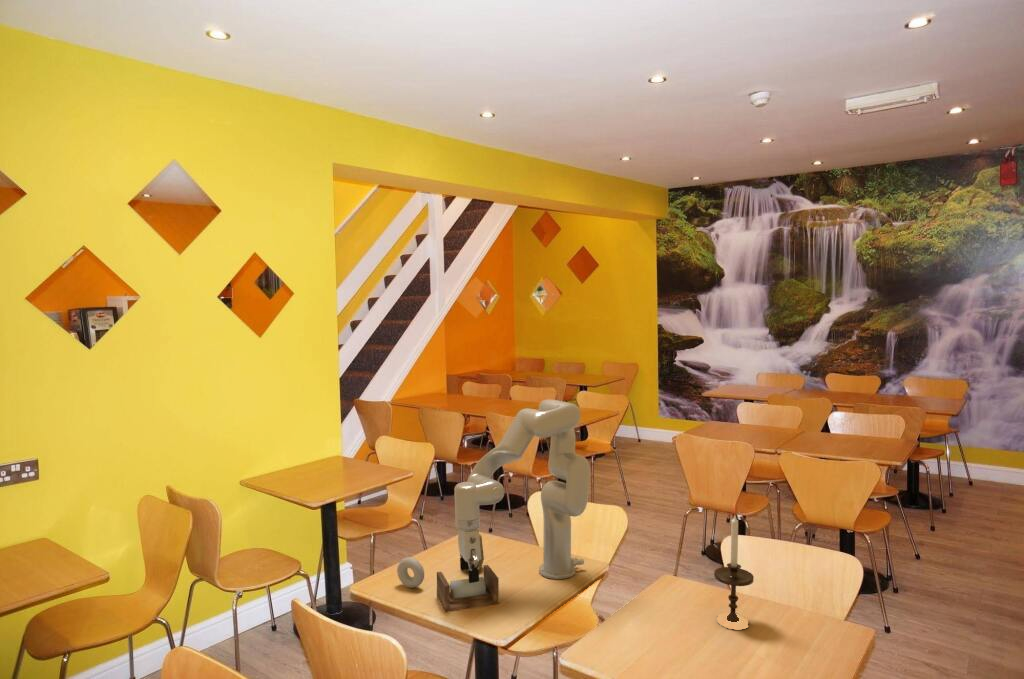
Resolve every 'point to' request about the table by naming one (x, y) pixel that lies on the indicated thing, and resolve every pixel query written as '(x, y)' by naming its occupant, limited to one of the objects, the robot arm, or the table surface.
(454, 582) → the roll
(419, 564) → the donut
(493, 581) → the cradle
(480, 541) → the squeeze bottle
